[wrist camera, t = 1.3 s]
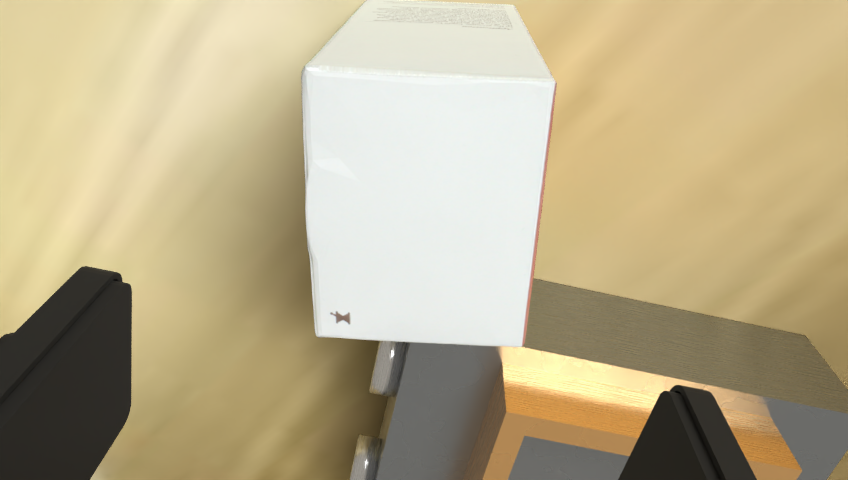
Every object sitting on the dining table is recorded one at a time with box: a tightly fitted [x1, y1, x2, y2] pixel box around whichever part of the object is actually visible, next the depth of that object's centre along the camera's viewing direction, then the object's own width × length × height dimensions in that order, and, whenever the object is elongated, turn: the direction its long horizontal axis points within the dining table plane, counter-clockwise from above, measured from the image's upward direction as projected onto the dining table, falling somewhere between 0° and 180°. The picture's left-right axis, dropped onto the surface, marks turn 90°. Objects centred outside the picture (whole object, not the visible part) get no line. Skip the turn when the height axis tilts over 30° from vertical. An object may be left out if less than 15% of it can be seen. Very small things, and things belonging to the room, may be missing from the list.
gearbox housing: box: [349, 279, 848, 480], centre depth 33 cm, size 21×16×9 cm
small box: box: [301, 0, 557, 347], centre depth 23 cm, size 8×6×13 cm
